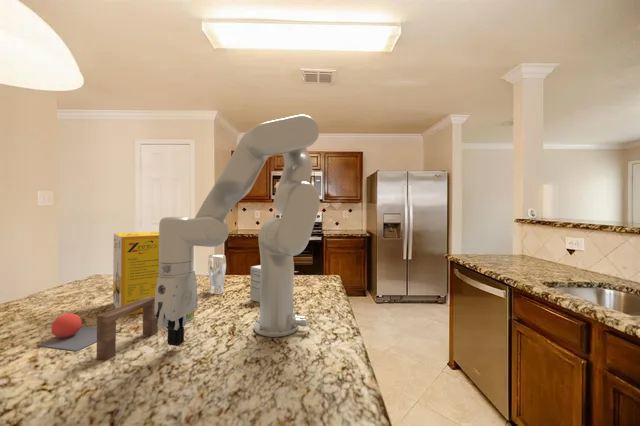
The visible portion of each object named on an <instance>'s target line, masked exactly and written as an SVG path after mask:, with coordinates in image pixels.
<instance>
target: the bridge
mask: <svg viewBox="0 0 640 426" xmlns="http://www.w3.org/2000/svg"><path fill="white" fill-rule="evenodd" d="M154 303H155V297H150V296H149V297H146V298H143V299H140V300H138V301H135V302H132V303H130V304H127V305H124V306H122V307H119V308H114V309H111V310H109V311H106V312H103V313H100V314H97V315H96V327H97V342H96V359H98V360H104V361H109V360H110V359H112V358H114V357H116V355H117V353H116V351H117V350H116V348H117V347H116V345H117V344H116V343H117V333H116V330H117V319H119V318H122V317H124V315H126V316H128V315H127V314H129V313H132V312H134V311H136V310H139V309H141V308H143V312H142V335H146V336H154V335H156V334H158V333H159V327H158V326H157V324H158V319H156V318H155V313H154Z"/></svg>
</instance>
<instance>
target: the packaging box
mask: <svg viewBox="0 0 640 426" xmlns="http://www.w3.org/2000/svg"><path fill="white" fill-rule="evenodd" d="M112 255H113V260H112V262H113V265H112V266H113V267H112V268H113V271H112V272H113V275H112V279H113V281H112V284H113V285H112V298H113V299H112V304H113V305H114V309H116V308H119V307H122V306H124V305H127V304H130V303H132V302H135V301H138V300H140V299H143V298H146V297H149V296H150V297H155V291H156V285H157V279H158V277H159V272H158V269H159V231H145V232H144V231H142V232H139V231H138V232H118V233H117V232H115V233H113V254H112ZM140 313H143V308H141V309H139V310H136V311H134V312H132V313H129V314H127V315H124V316H129V315H136V314H140ZM124 316H123V317H124Z"/></svg>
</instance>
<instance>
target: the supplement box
mask: <svg viewBox="0 0 640 426" xmlns="http://www.w3.org/2000/svg"><path fill="white" fill-rule="evenodd" d="M260 274H261V264H258V265H253V266H250V284H249V285H250V288H249V289H250V297H249V298H250V300H251V301H254V302H256V303H259V304H260Z"/></svg>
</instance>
